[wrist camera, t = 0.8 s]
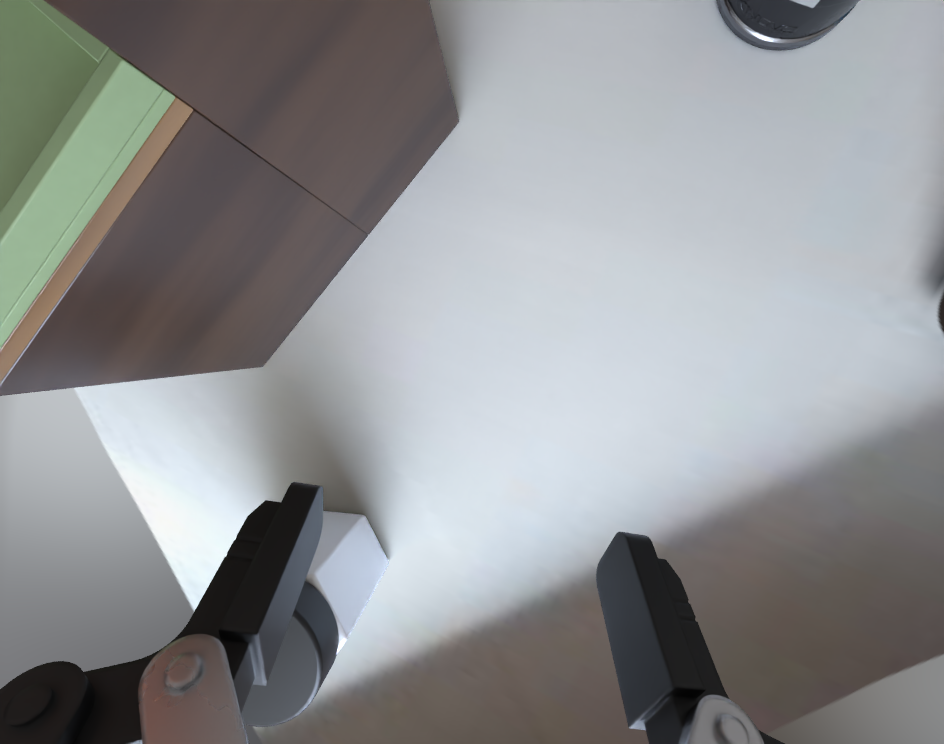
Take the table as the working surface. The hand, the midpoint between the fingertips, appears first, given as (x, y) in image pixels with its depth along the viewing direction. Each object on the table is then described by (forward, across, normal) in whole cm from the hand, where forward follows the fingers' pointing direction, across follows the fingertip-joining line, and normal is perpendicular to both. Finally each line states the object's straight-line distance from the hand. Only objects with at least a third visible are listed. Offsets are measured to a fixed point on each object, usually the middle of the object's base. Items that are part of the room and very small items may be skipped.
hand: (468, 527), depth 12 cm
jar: (+14, +7, +25) cm, 30 cm away
